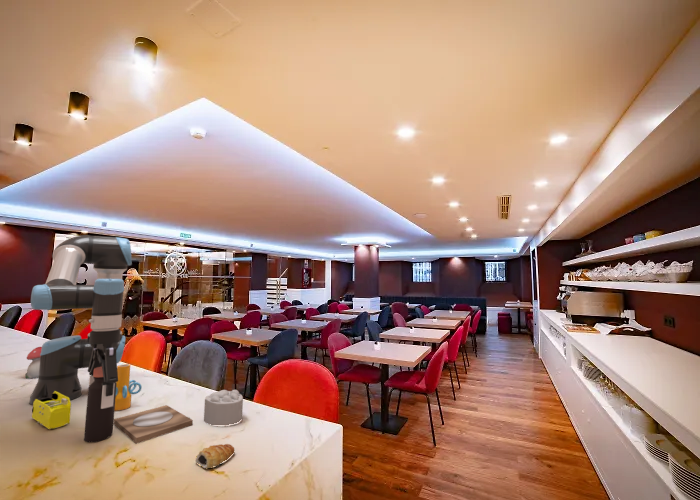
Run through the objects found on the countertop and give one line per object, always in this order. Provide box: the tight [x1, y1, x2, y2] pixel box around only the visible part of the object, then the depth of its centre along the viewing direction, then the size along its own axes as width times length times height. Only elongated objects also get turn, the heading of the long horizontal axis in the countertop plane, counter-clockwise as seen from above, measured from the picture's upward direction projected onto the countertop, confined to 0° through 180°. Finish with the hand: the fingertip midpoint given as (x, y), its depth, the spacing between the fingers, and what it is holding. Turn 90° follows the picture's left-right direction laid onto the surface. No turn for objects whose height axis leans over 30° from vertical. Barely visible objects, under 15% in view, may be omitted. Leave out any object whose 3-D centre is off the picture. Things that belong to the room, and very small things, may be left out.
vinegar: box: [83, 367, 116, 443], centre depth 98 cm, size 7×7×20 cm
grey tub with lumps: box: [203, 389, 244, 426], centre depth 110 cm, size 10×13×9 cm
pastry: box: [195, 443, 235, 469], centre depth 85 cm, size 9×7×4 cm
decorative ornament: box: [24, 346, 42, 379], centre depth 158 cm, size 9×6×15 cm
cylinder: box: [114, 363, 142, 412], centre depth 120 cm, size 12×10×15 cm
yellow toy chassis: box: [31, 391, 72, 430], centre depth 107 cm, size 16×6×8 cm, turn 58°
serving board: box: [113, 404, 194, 444], centre depth 106 cm, size 20×16×2 cm
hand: (99, 402), depth 97 cm, fingers open, 13 cm apart
